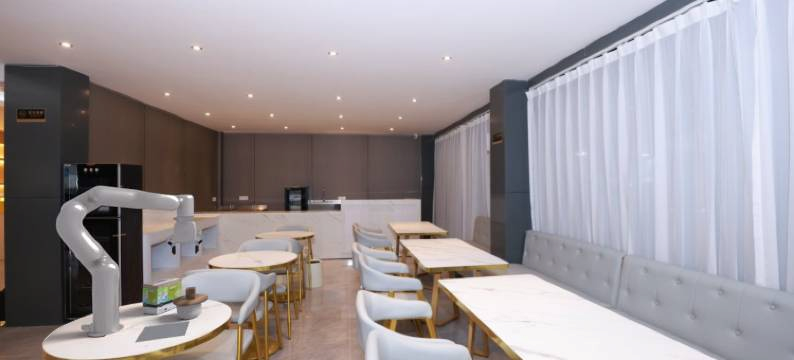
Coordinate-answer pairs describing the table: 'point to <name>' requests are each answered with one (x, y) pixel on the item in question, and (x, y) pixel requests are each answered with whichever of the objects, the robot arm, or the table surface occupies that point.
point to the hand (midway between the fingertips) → (185, 253)
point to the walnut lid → (190, 298)
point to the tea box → (161, 295)
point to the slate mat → (163, 331)
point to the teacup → (188, 311)
